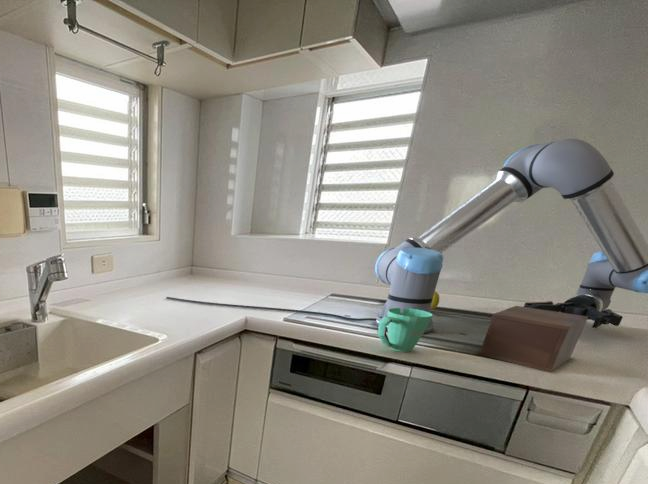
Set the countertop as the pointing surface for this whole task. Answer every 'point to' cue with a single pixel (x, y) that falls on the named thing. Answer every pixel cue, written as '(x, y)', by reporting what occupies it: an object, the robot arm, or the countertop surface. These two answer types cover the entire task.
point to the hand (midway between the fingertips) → (560, 317)
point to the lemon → (435, 300)
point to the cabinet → (532, 337)
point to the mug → (403, 328)
